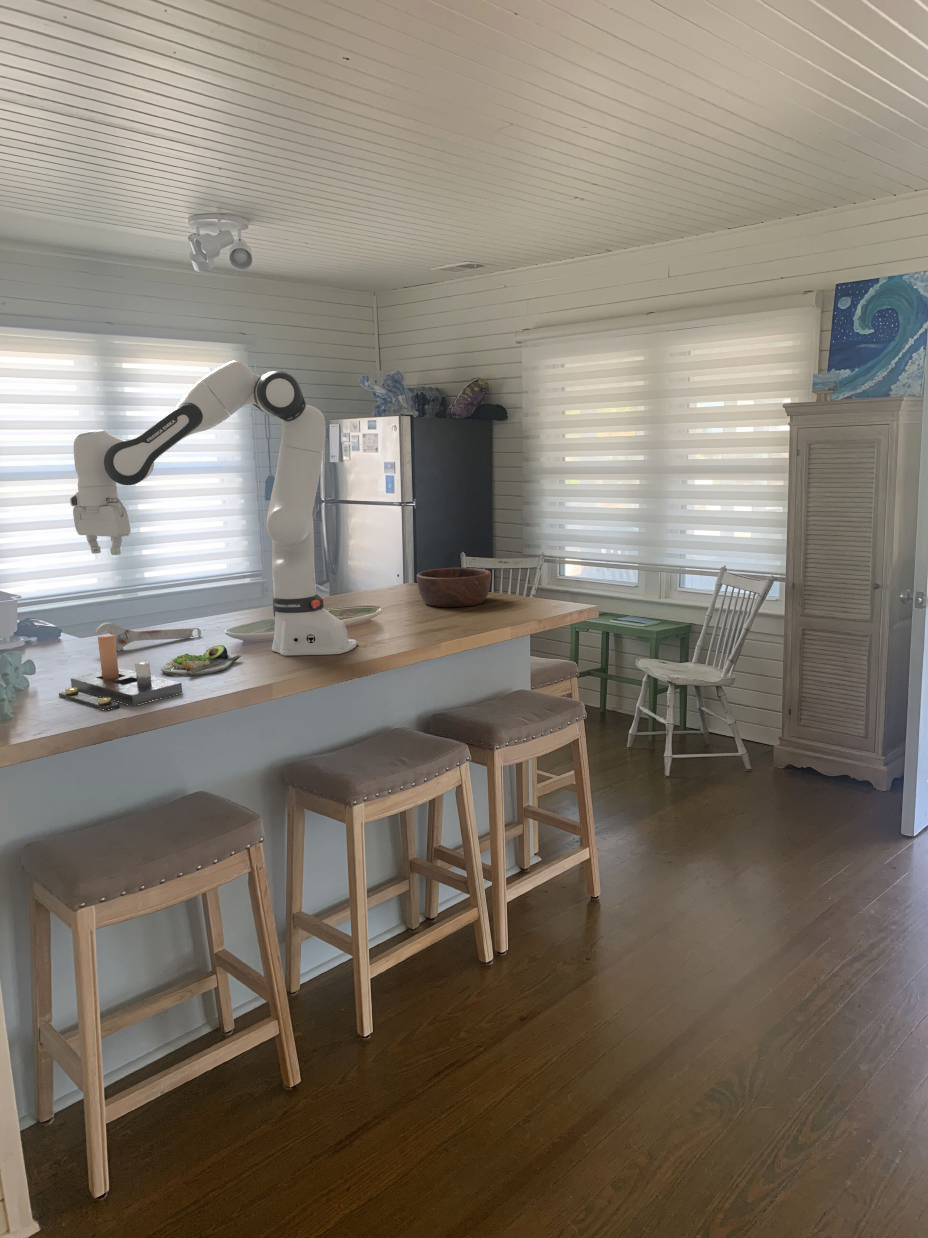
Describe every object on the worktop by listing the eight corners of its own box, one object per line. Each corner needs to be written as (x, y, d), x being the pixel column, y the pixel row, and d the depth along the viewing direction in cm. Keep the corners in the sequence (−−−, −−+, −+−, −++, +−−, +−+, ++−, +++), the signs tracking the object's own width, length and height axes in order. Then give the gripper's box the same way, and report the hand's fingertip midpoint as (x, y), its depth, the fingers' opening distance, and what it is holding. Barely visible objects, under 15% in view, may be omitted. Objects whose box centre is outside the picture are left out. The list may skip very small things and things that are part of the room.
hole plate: (50, 693, 203) (46, 661, 201) (119, 677, 216) (116, 646, 214) (111, 712, 186) (107, 677, 185) (182, 693, 199) (179, 660, 198)
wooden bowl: (411, 599, 311) (410, 570, 309) (481, 594, 317) (480, 565, 315) (425, 612, 288) (424, 580, 286) (500, 606, 293) (500, 575, 291)
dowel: (123, 685, 208) (117, 634, 206) (114, 689, 204) (108, 638, 202) (109, 685, 209) (103, 634, 206) (100, 689, 205) (94, 637, 203)
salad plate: (224, 679, 212) (222, 660, 211) (149, 681, 213) (147, 662, 212) (245, 659, 231) (244, 642, 230) (177, 661, 232) (175, 644, 231)
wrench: (201, 647, 260) (96, 653, 240) (198, 646, 262) (94, 652, 241) (201, 619, 259) (97, 623, 239) (198, 618, 261) (94, 622, 240)
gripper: (133, 496, 216) (140, 553, 219) (90, 497, 229) (97, 551, 232) (108, 498, 211) (116, 557, 214) (66, 499, 224) (73, 554, 227)
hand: (106, 554), depth 223 cm, fingers open, 8 cm apart
